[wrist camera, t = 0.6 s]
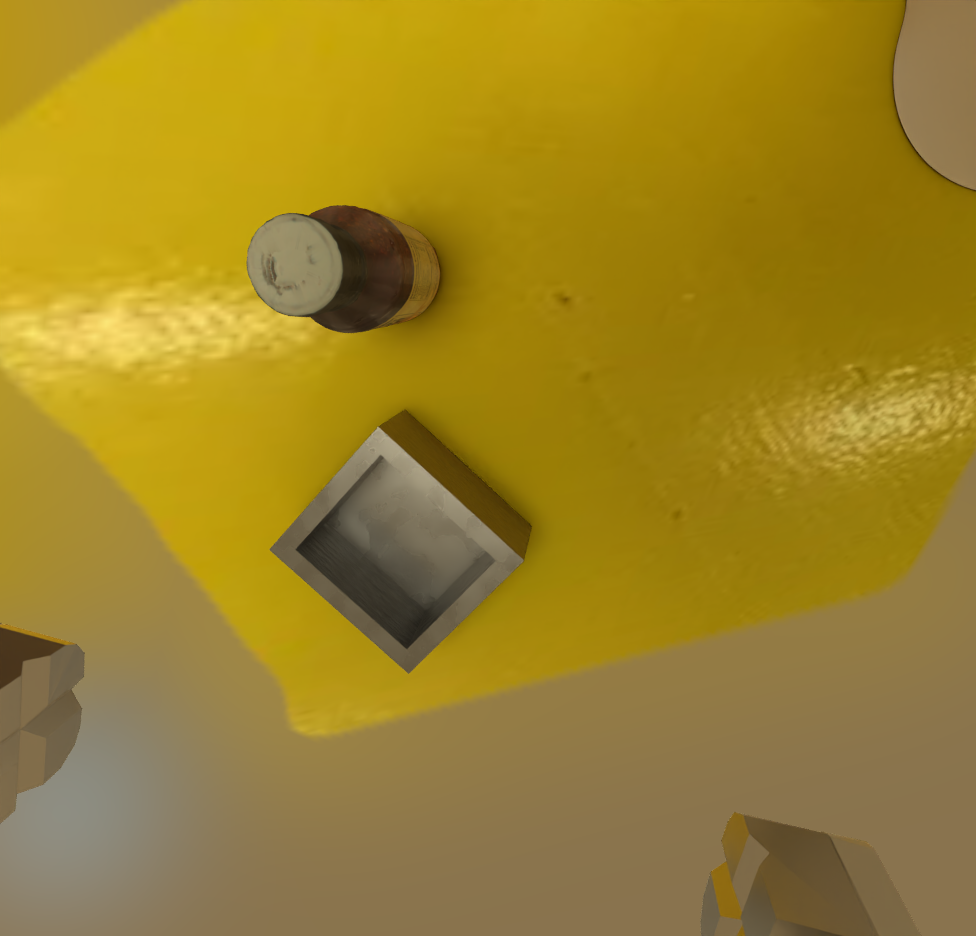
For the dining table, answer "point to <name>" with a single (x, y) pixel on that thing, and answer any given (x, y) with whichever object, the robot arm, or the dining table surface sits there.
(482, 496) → the condiment sleeve
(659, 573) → the dining table surface
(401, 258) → the sauce bottle
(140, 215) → the dining table surface
